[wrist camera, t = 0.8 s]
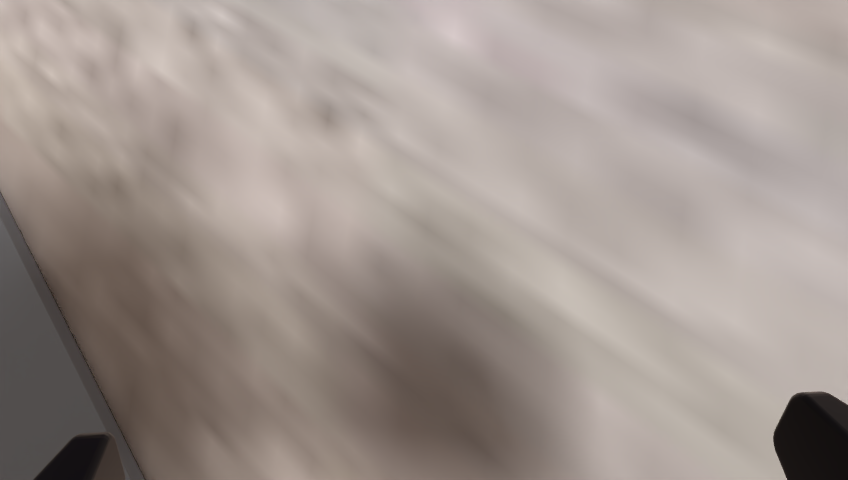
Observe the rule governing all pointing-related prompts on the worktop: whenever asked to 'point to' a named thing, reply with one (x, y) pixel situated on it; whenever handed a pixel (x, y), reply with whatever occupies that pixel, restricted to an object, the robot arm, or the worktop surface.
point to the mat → (41, 370)
